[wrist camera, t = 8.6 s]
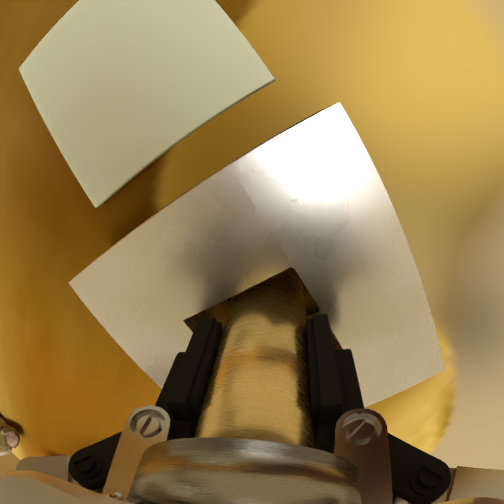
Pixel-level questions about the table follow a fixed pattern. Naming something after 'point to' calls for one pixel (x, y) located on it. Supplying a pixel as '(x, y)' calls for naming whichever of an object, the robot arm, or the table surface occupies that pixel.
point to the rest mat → (136, 82)
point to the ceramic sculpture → (7, 437)
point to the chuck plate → (275, 258)
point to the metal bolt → (252, 417)
